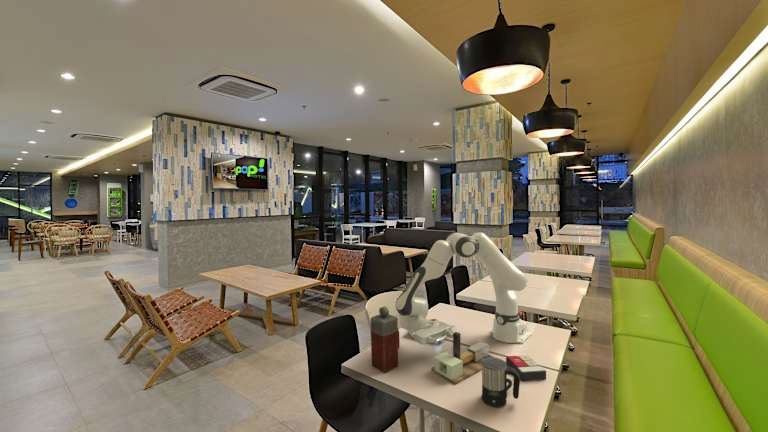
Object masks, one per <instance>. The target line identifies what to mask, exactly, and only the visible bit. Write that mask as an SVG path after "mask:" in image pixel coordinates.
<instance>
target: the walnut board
mask: <svg viewBox="0 0 768 432" xmlns="http://www.w3.org/2000/svg"><path fill="white" fill-rule="evenodd" d="M490 357H494V356H492V355H490ZM482 359H484V357H483V358H482ZM482 359H480V360H481V361H482ZM481 361H480V362H478V363H475V362H473V361H469V362H467V363H465V364H463V375H461V376H459V377H457V378H455V379H453V380H450V379H449V378H447V377H445V376H444V375H442V374H440V373H439V372H437V371H435V366H432V367H431V371H432V372H434V373H435V374H437V375H439V377H441V378H443V379H446V380H447V381H448V382H450V383H452V384H454V385H455V386H456V385H457V384H460V383H461V382H463V381H465V380H467V379H469V378H470V377H472V376H474V375H476V374H477V373H480V372H482V364H481Z"/></svg>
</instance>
